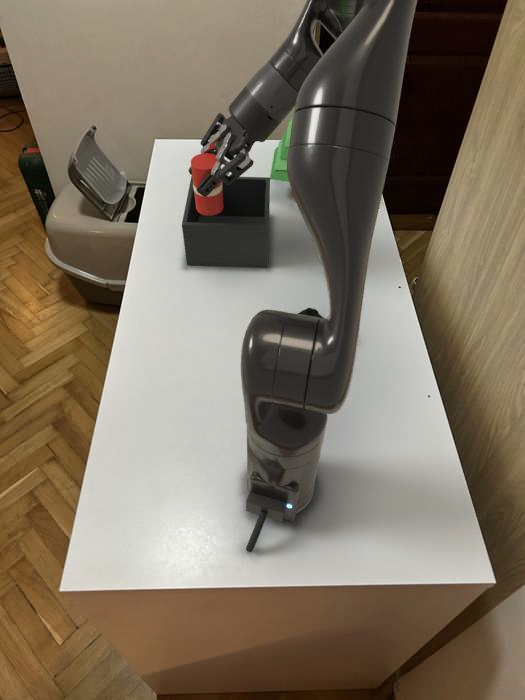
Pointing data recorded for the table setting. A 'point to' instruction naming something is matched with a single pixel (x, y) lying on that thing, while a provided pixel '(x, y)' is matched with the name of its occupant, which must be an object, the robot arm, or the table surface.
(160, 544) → the table surface
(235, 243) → the bin
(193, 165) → the red cylinder
